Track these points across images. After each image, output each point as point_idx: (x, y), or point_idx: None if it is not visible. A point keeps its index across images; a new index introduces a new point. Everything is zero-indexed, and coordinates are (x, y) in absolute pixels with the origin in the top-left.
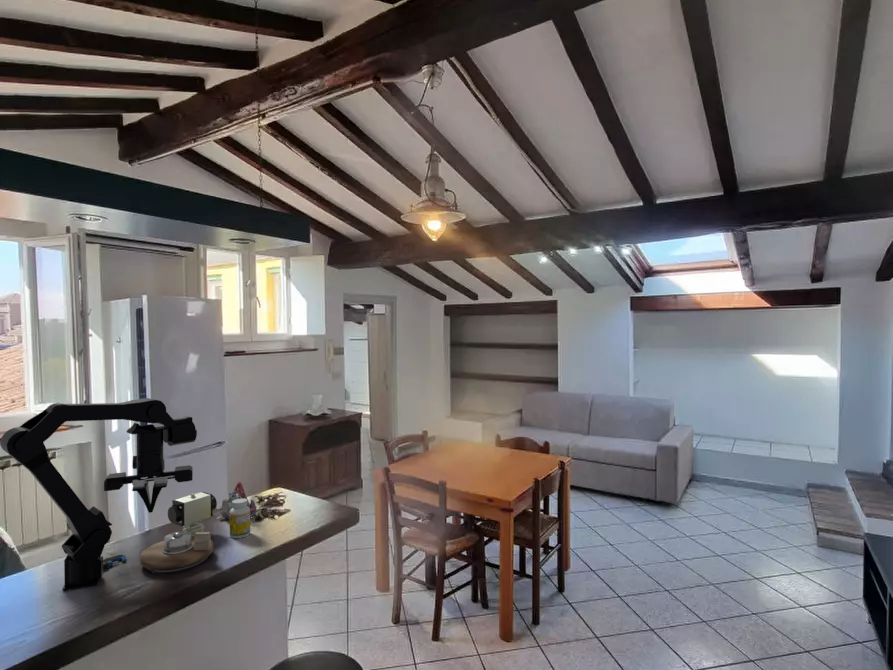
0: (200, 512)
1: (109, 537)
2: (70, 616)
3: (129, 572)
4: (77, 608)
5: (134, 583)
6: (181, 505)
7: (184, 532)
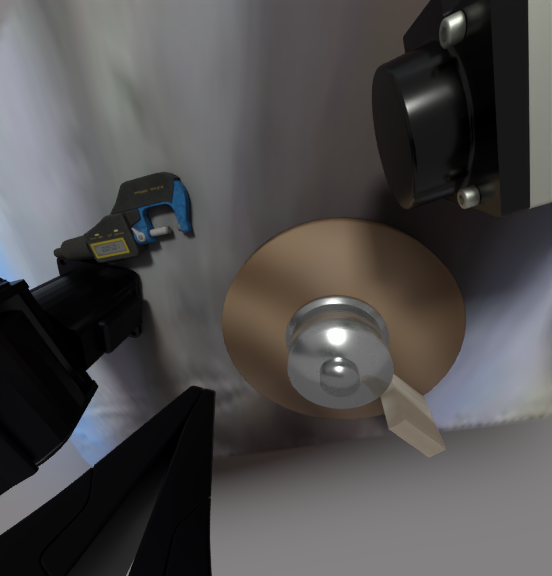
0: None
1: (77, 411)
2: (125, 415)
3: (206, 310)
4: (129, 399)
5: (219, 373)
6: (486, 205)
7: (373, 355)
